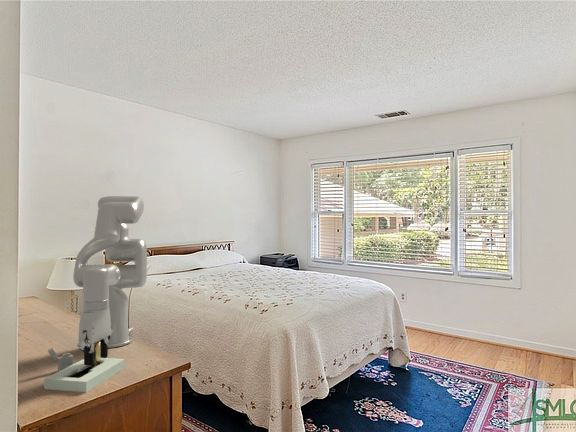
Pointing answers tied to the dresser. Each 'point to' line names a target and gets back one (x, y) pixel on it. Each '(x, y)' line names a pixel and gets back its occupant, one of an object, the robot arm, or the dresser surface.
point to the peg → (96, 354)
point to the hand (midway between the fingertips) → (96, 360)
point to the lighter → (62, 359)
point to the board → (87, 381)
